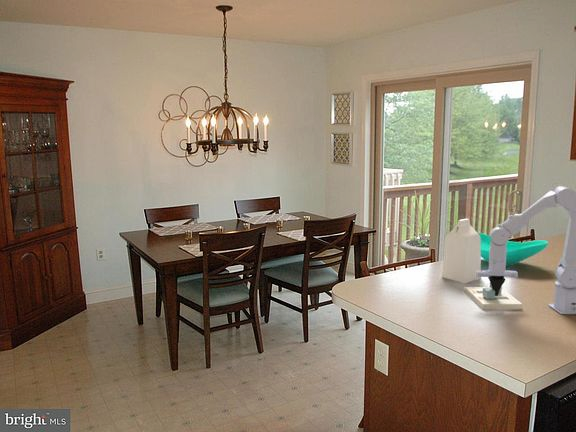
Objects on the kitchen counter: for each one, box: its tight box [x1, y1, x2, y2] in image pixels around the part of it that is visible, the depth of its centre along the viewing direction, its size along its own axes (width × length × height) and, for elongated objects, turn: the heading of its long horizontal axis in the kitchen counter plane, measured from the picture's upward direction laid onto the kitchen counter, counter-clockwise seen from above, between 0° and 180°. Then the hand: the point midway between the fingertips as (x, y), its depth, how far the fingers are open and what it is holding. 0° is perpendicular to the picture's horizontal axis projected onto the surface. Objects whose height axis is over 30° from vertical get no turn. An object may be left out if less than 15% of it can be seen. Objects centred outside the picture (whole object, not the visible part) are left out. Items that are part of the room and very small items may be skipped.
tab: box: [483, 288, 495, 299], centre depth 182 cm, size 4×3×3 cm
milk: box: [441, 218, 482, 284], centre depth 214 cm, size 12×12×26 cm
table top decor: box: [476, 231, 549, 267], centre depth 236 cm, size 40×28×13 cm
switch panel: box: [464, 286, 523, 310], centre depth 186 cm, size 20×14×2 cm
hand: (495, 295), depth 182 cm, fingers closed
